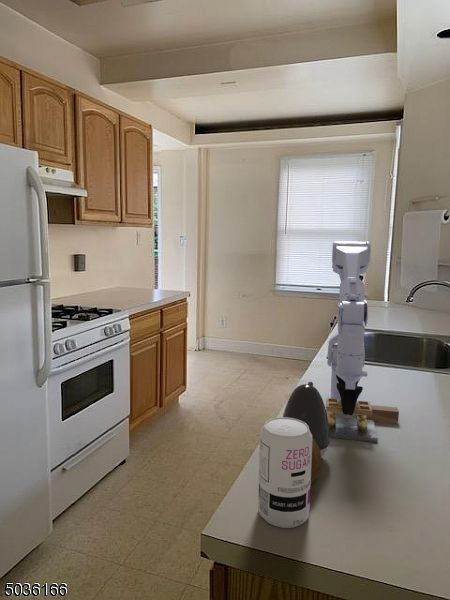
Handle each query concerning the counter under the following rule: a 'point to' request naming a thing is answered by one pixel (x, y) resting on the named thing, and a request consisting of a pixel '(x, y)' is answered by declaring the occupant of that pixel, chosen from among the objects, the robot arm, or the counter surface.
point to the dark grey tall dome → (310, 413)
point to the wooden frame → (360, 409)
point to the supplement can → (285, 472)
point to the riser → (384, 414)
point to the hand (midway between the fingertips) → (347, 409)
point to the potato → (315, 461)
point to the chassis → (352, 428)
